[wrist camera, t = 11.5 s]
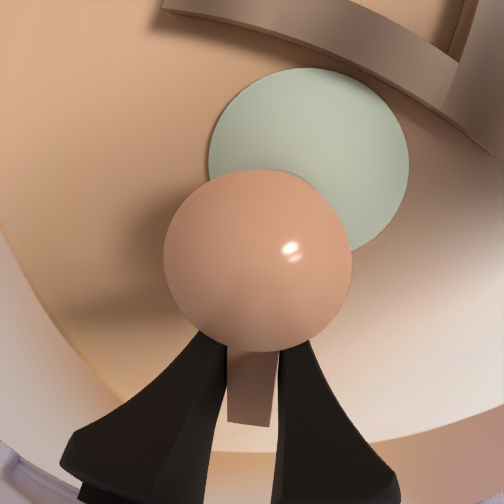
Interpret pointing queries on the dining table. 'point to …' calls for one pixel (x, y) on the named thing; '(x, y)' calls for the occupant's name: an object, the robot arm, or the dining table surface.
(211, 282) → the peach rounded piece
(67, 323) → the dining table surface
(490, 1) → the walnut stand
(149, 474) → the robot arm
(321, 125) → the sage mat
